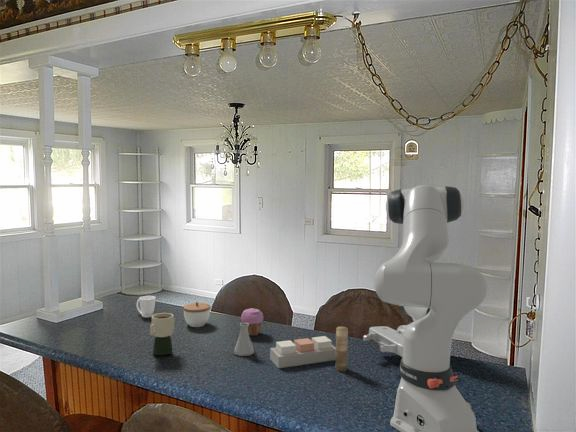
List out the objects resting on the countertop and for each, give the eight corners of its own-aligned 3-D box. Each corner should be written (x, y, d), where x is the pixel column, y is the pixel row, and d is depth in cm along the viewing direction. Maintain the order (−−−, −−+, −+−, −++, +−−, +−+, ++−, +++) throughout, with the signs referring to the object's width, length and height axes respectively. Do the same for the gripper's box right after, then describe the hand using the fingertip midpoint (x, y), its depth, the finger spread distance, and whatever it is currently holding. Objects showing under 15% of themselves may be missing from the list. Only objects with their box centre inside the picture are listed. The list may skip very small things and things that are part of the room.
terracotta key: (314, 351, 141) (314, 343, 141) (299, 353, 139) (300, 344, 139) (307, 346, 146) (307, 338, 145) (294, 348, 144) (294, 339, 144)
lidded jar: (177, 325, 175) (177, 302, 174) (197, 319, 184) (197, 297, 183) (196, 330, 169) (196, 307, 168) (215, 324, 178) (215, 301, 177)
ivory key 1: (295, 354, 139) (296, 345, 138) (281, 355, 137) (281, 347, 137) (290, 348, 143) (290, 340, 143) (275, 350, 141) (276, 342, 141)
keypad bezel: (337, 359, 143) (337, 349, 142) (278, 368, 135) (278, 357, 135) (326, 351, 150) (326, 340, 150) (269, 358, 142) (270, 348, 142)
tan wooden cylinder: (349, 370, 134) (350, 329, 133) (338, 372, 133) (339, 330, 132) (343, 366, 138) (344, 326, 137) (333, 367, 136) (334, 327, 135)
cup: (146, 319, 182) (146, 300, 182) (130, 315, 187) (130, 297, 187) (159, 315, 188) (159, 297, 188) (143, 311, 193) (143, 293, 193)
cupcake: (262, 338, 162) (262, 312, 161) (239, 337, 162) (239, 311, 161) (264, 330, 171) (264, 305, 170) (242, 330, 171) (242, 305, 170)
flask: (251, 357, 143) (251, 328, 143) (230, 355, 145) (230, 326, 144) (257, 349, 150) (257, 321, 150) (237, 348, 152) (237, 320, 151)
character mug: (166, 346, 152) (166, 310, 151) (182, 350, 148) (182, 313, 148) (142, 357, 142) (142, 318, 141) (158, 361, 139) (158, 321, 138)
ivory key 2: (331, 349, 143) (331, 340, 143) (317, 351, 141) (318, 342, 141) (324, 344, 148) (325, 335, 148) (311, 345, 146) (311, 337, 146)
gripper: (389, 320, 153) (355, 324, 148) (428, 339, 134) (390, 344, 129) (389, 337, 154) (355, 342, 149) (427, 359, 135) (390, 365, 130)
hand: (372, 343), depth 139 cm, fingers open, 8 cm apart
